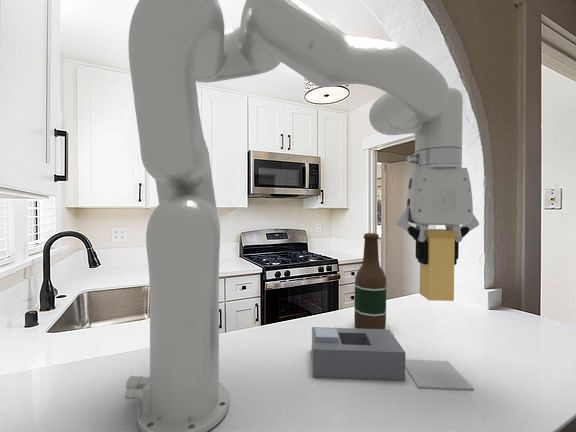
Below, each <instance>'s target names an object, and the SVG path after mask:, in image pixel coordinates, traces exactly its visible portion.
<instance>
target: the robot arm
mask: <svg viewBox="0 0 576 432" xmlns="http://www.w3.org/2000/svg"><path fill="white" fill-rule="evenodd" d="M127 44H128V63H129V70H130V78H131V85H132V92H133V101H134V104H133V105H134V112H135V116H136V124H137V125H136V126H137V131H138V139H139V147H140V148H139V150H140V157H141V161H142V164H143V167H144V168H145V170H146V172H147V174H149V175H150V177H152V178H153V179H154V181H155V185H156V194H157V198H158V205H157V206H156V207H155V209H154V210H153V212H152V213H151V214H150V217H149V218H148V223H147V226H146V232H145V234H146V235H145V242H146V243H145V244H146V245H145V246H146V247H145V248H146V254H147V265H148V266H147V267H148V278H149V281H148V283H149V376H141V375H139V376H138V375H130V376H129V377H128V379H127V382H126V384H125V388H126V390H125V393H124V399H125V400H139V401H140V402H142V403H141V405H140V406H139V409H138V411H137V427H138V429H139V431H140V432H209V431H210V430H212V429H213V428H214V427H216V426H217V425H218V424H219V423H220V422H221V421H222V420H223V419H224V417H225V416H226V414H227V413H228V411H229V408H230V407H229V406H230V395H229V391H228V389H227V388H226V387H225V386H224V385H223V384H221V383H220V382H219V381H220V379H219V378H220V377H219V376H220V373H219V372H220V370H219V369H220V357H219V356H220V250H221V249H220V248H221V247H220V246H221V225H220V220H219V219H220V218H219V216H218V215H219V214H218V209H217V202H216V201H217V200H216V195H215V194H216V193H215V189H214V181H213V173H212V167H211V160H210V152H209V149H208V148H209V147H208V145H207V143H206V140H205V137H204V131H203V125H202V121H201V116H200V108H199V97H198V90H197V84H196V83H209V84H210V83H216V82H222V81H227V80H233V79H234V80H235V79H241V78H247V77H252V76H258V75H260V74H264V73H268V72H270V71H273V70H275V69H276V68H278V66H279V65H280V63H282V64H284V65H285V66H287V67H288V68H289V69H291V70H293V71H294V72H296V73H297V74H299V75H300V76H301V77H304V78H305V79H306V80H307V81H309V82H311V83H312V84H313V85H315V86H316V87H321V88H331V87H332V88H333V87H339V86H345V85H346V86H347V85H364V86H365V85H366V86H369V87H373V88H376V89H379V90H381V91H383V92H385V93H383V94H382V95H380V96H379V97H378V98H377V99H376V100H375V101H374V102H373V104H372V105H371V108H370V109H369V114H368V116H369V123H370V125H371V127H372V128H373V129H374V130H375V132H378V133H380V134H382V135H386V136H399V135H408V134H409V135H411V134H414V135H415V136H414V153H413V154H412V155H407V158H406V161H407V164H413V168H414V169H411V171H410V174H409V175H410V176H409V180H408V186H407V192H406V203H405V209H404V211H403V212H402V213H401V215H400V216H399V218H398V219H397V220H396V223H395V224H396V225H397V226H398V227H399V228H401V229H402V230H404V231H406V232H407V233H408V234H409V236H410V237H412V239H413V240H414V241H415V258H416V259H417V262H418V263H419V264H420V263H422V264H424V265H427V264H428V242H426V230H428V229H429V226H437V225H438V226H444V227H445V229H446V230H455V231H457V238H455V251H454V266H456V265H457V261H458V259H459V254H460V253H459V251H460V249H459V248H460V247H459V243H461V242H462V241H463V238H464V237H465V236H466V235H468V233H470V232H471V231H472V230H474V229H475V228H477V227H479V225H480V223H479V220H478V219H477V217H476V216H475V215H474V208H473V207H474V204H473V203H474V202H473V193H472V184H471V179H470V175H469V174H470V173H469V170H468V168H467V167H462V165H463V108H464V107H463V104H464V99H463V94H462V92H461V91H460V90H459V89H458V88H454V87H450V86H449V85H448V82H447V79H446V78H445V77H444V76H443V74H442V73H441V71H439V69H437V68H436V67H435V65H433V64H432V63H430V62H429V61H428V60H426V59H425V58H424V57H423V56H421V55H420V54H418V53H417V52H415V51H414V50H413V49H411V48H410V47H407V46H406V45H404V44H401V43H398V42H394V41H390V40H389V41H388V40H384V39H377V38H371V37H358V36H351V35H349V34H347V33H345V31H342V30H341V29H339V28H338V27H337V26H335V25H334V24H333V23H331V22H330V21H328V20H327V19H326V18H324V17H323V16H322V15H320V14H318V13H317V12H316V11H315V10H313V9H312V8H310V7H309V6H308V5H306V4H305V3H303V2H302V1H301V0H245V2H244V5H243V9H242V12H241V19H240V26H239V27H235V28H234V27H233V28H230V29H229V28H228V29H225V20H224V14H223V11H222V8H221V5H220V2H219V0H138V2H137V4H136V5H135V7H134V10H133V13H132V16H131V19H130V25H129V31H128V43H127ZM411 224H414V225H415V227H414V226H413V225H411Z"/></svg>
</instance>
